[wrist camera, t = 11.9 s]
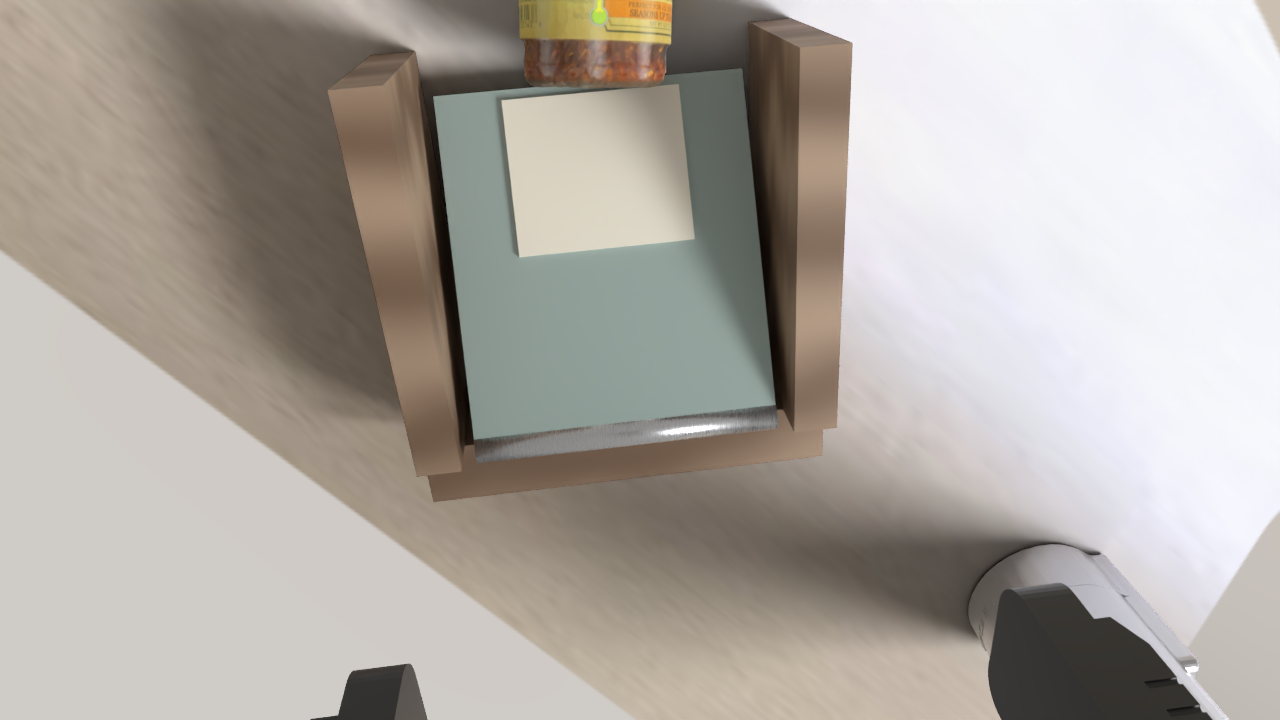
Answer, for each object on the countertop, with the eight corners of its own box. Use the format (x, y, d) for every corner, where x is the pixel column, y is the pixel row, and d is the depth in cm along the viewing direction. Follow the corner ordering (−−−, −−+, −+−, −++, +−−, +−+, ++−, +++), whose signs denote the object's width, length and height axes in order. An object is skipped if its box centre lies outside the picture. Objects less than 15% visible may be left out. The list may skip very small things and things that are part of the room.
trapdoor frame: (786, 388, 49) (834, 478, 41) (447, 426, 48) (428, 527, 40) (790, 18, 40) (852, 42, 32) (371, 55, 39) (327, 90, 31)
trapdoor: (772, 427, 41) (779, 430, 40) (480, 460, 40) (476, 466, 39) (737, 75, 40) (742, 66, 39) (438, 103, 40) (432, 95, 38)
